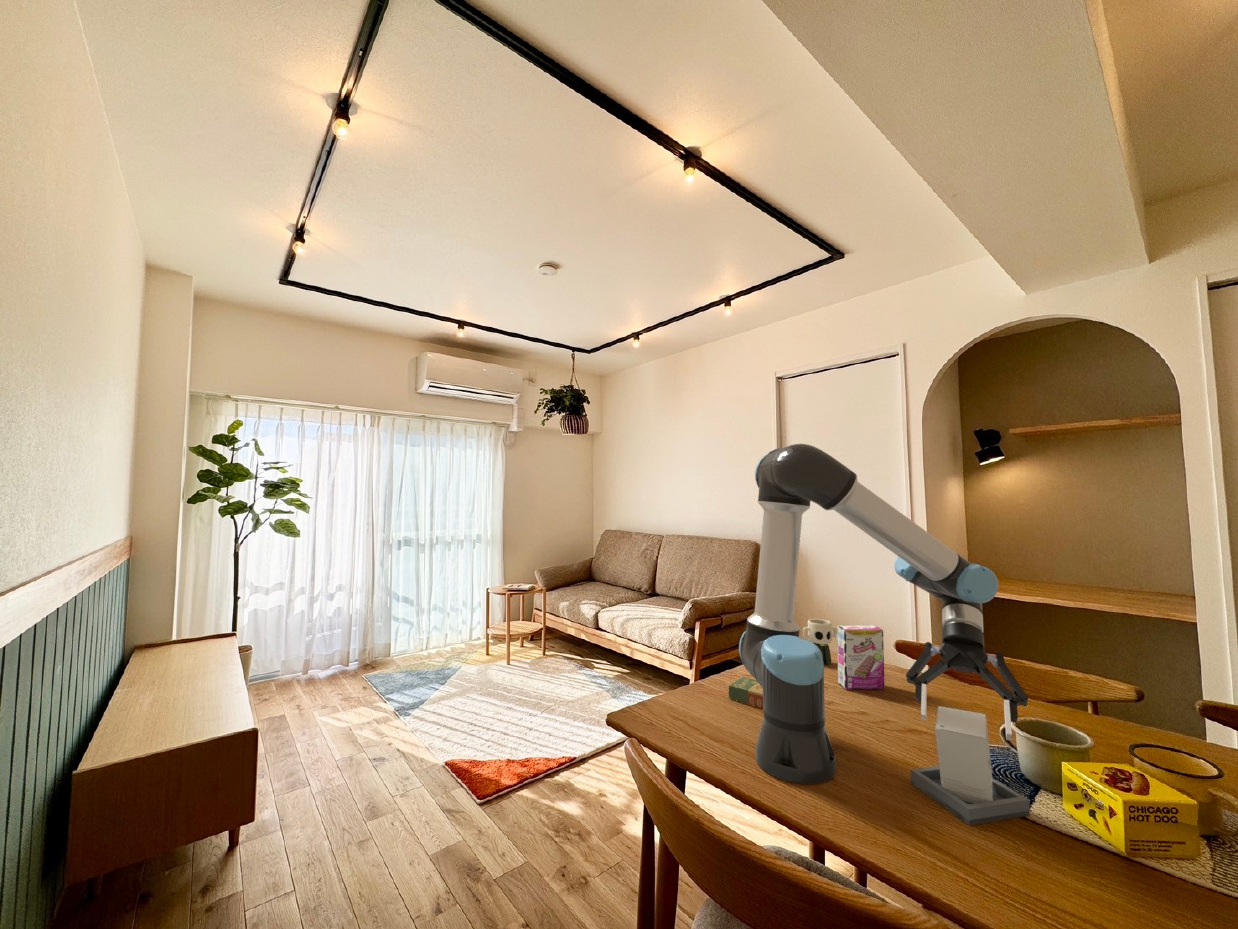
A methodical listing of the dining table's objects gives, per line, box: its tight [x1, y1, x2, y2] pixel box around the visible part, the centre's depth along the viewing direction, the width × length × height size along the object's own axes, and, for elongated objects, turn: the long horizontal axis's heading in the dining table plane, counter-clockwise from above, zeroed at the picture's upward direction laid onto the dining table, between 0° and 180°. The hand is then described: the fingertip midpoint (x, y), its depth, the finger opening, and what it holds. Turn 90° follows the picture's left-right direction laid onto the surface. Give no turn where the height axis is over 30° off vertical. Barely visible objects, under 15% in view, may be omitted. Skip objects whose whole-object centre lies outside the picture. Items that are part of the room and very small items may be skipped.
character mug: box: [802, 618, 837, 665], centre depth 159 cm, size 11×7×13 cm, turn 93°
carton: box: [728, 676, 763, 710], centre depth 128 cm, size 8×16×4 cm, turn 48°
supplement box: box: [934, 705, 994, 804], centre depth 87 cm, size 7×7×13 cm
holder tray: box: [910, 765, 1031, 826], centre depth 87 cm, size 12×12×2 cm
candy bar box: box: [836, 624, 885, 691], centre depth 139 cm, size 11×5×16 cm, turn 92°
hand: (964, 727), depth 96 cm, fingers open, 13 cm apart
